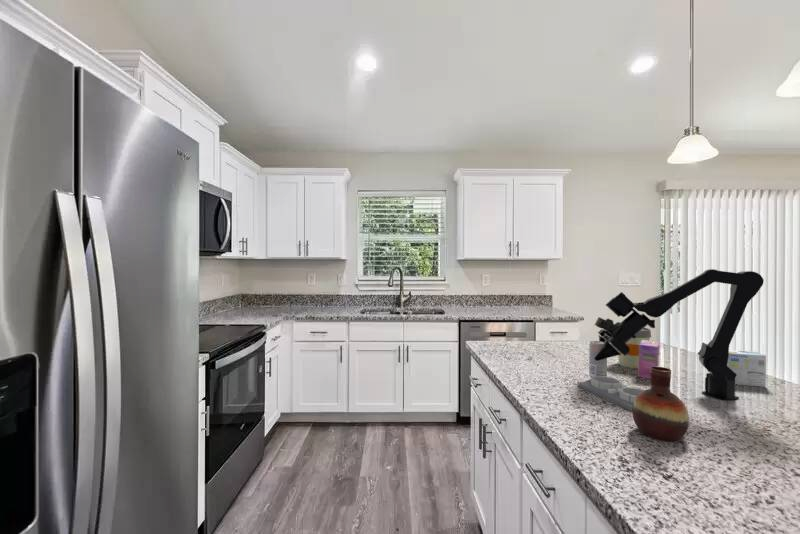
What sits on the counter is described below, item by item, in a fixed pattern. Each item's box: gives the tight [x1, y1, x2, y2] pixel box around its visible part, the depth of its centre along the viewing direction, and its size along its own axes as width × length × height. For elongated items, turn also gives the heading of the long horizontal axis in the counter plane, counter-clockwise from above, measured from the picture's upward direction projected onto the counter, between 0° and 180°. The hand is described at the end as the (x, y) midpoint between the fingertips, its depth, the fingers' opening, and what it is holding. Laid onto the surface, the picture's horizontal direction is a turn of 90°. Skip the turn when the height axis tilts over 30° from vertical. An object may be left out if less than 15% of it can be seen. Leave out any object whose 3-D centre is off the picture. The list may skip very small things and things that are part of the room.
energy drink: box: [588, 340, 608, 378], centre depth 131 cm, size 5×5×12 cm
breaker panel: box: [577, 375, 646, 412], centre depth 116 cm, size 22×13×3 cm, turn 12°
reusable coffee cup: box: [617, 327, 652, 369], centre depth 153 cm, size 13×13×15 cm
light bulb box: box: [727, 349, 767, 388], centre depth 131 cm, size 11×7×11 cm, turn 74°
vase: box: [631, 366, 690, 442], centre depth 90 cm, size 11×11×15 cm
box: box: [637, 340, 660, 380], centre depth 139 cm, size 10×6×12 cm, turn 143°
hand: (593, 357), depth 131 cm, fingers closed on energy drink, 5 cm apart
